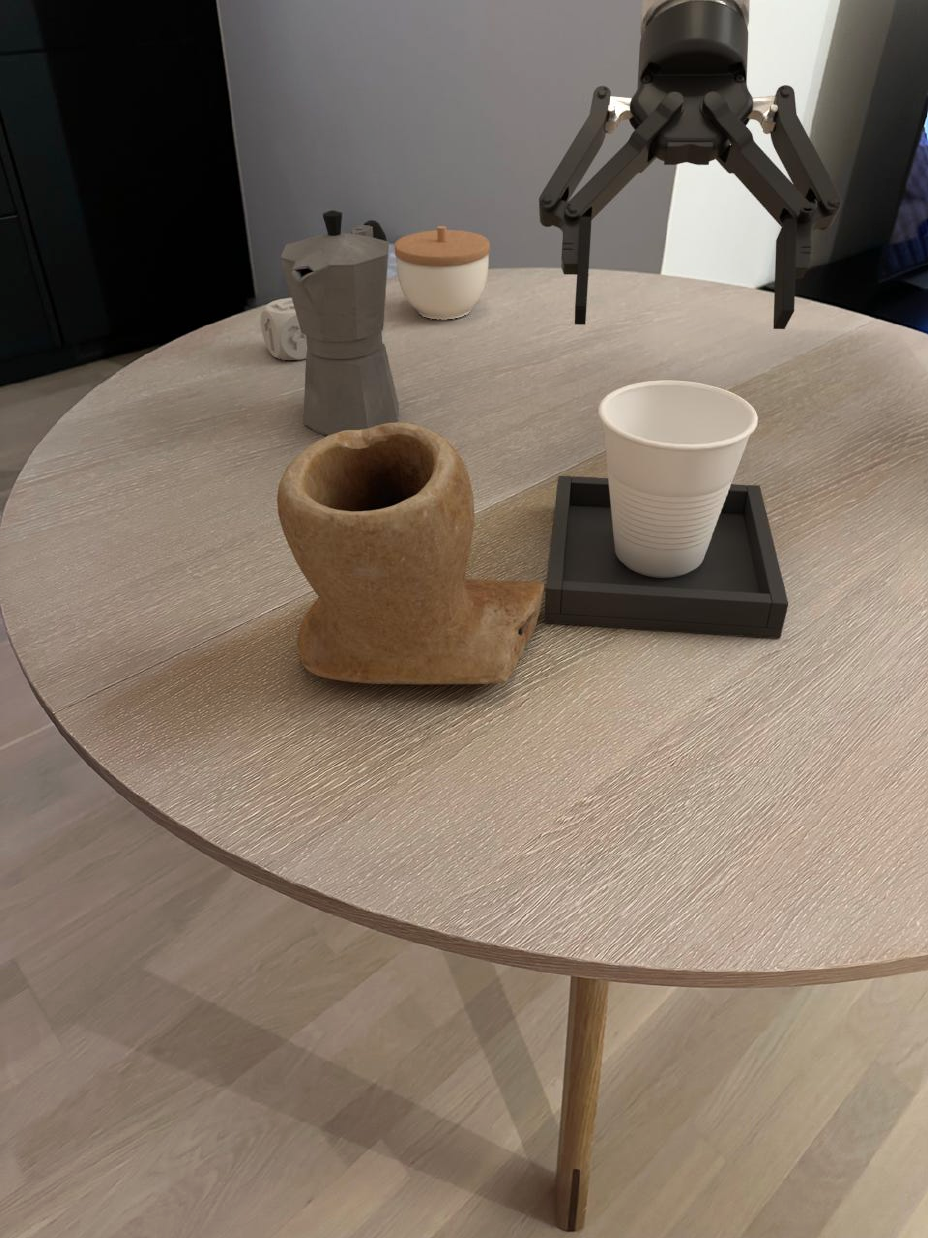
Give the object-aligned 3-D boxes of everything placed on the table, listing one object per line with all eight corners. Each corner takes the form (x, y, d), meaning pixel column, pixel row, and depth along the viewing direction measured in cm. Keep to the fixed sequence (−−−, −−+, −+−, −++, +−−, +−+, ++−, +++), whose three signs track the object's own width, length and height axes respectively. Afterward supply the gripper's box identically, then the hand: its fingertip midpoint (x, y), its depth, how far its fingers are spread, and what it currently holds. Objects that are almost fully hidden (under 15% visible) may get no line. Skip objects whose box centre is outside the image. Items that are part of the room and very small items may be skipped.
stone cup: (275, 715, 54) (231, 489, 45) (322, 596, 63) (294, 389, 54) (535, 733, 53) (544, 503, 43) (544, 608, 62) (553, 397, 53)
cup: (570, 580, 63) (579, 431, 56) (607, 509, 70) (619, 371, 64) (718, 610, 60) (746, 457, 53) (740, 533, 67) (768, 390, 61)
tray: (753, 517, 71) (760, 485, 69) (780, 639, 59) (788, 603, 57) (556, 506, 73) (558, 475, 71) (544, 623, 61) (545, 588, 59)
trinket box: (379, 316, 108) (373, 231, 102) (434, 290, 115) (431, 210, 109) (455, 334, 103) (453, 245, 97) (507, 306, 110) (508, 222, 104)
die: (264, 350, 100) (257, 303, 97) (306, 340, 102) (300, 294, 99) (283, 364, 96) (276, 317, 93) (326, 354, 99) (321, 307, 96)
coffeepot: (367, 455, 80) (347, 237, 69) (271, 439, 83) (238, 227, 72) (434, 386, 91) (427, 190, 80) (349, 374, 94) (330, 182, 83)
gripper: (859, 71, 68) (853, 345, 65) (520, 74, 71) (501, 337, 68) (895, -11, 61) (890, 294, 58) (516, -4, 64) (494, 287, 61)
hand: (680, 318), depth 63 cm, fingers open, 13 cm apart
